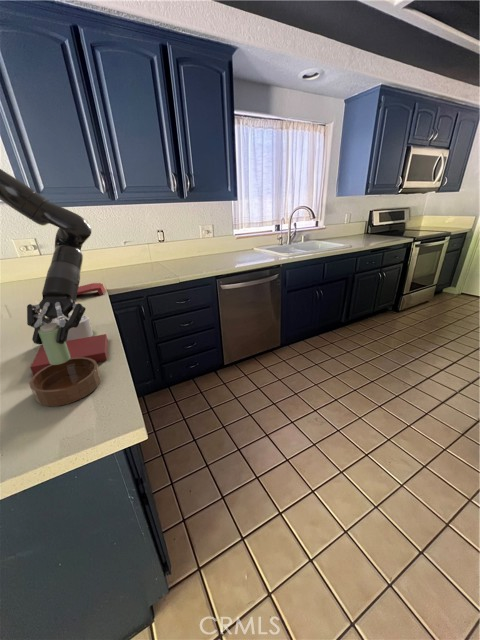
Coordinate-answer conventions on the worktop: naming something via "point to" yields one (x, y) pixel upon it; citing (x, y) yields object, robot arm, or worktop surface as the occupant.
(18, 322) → the worktop surface
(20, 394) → the worktop surface
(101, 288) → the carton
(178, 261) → the worktop surface
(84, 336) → the lumpy-topped squat cylinder
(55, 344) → the pepper shaker
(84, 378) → the bowl
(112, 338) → the worktop surface
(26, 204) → the robot arm
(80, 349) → the book
